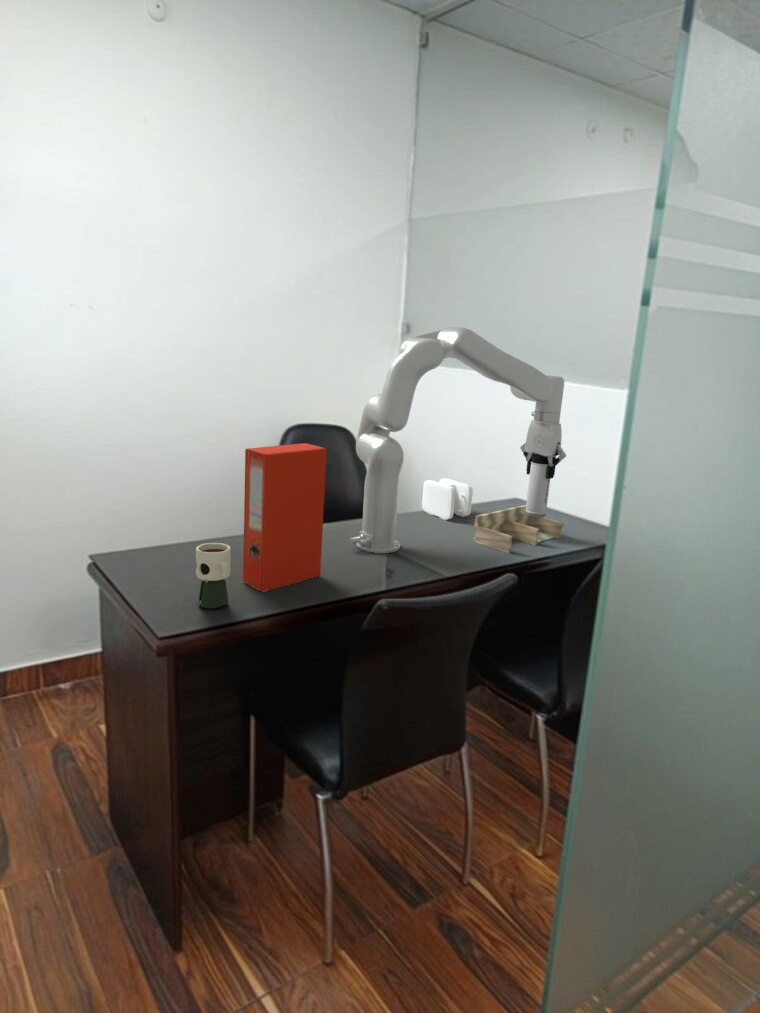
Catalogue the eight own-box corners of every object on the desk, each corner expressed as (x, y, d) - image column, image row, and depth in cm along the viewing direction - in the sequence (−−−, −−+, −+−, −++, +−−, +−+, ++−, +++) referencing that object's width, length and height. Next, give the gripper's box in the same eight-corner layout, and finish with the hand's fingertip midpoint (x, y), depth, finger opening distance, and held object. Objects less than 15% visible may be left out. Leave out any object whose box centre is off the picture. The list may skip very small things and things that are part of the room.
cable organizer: (419, 511, 231) (421, 478, 228) (441, 508, 237) (444, 476, 235) (449, 522, 220) (452, 488, 217) (471, 518, 226) (475, 485, 223)
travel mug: (521, 512, 211) (528, 449, 206) (541, 512, 211) (549, 450, 206) (527, 517, 205) (535, 453, 200) (548, 518, 205) (556, 454, 200)
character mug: (186, 600, 145) (185, 543, 142) (216, 593, 150) (216, 538, 147) (209, 617, 137) (209, 558, 134) (240, 610, 142) (241, 552, 139)
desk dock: (508, 553, 191) (511, 526, 189) (472, 541, 200) (475, 515, 198) (561, 537, 210) (564, 513, 208) (526, 527, 219) (529, 503, 217)
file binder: (321, 576, 164) (326, 448, 156) (263, 593, 152) (266, 454, 144) (300, 567, 169) (304, 442, 161) (243, 582, 157) (244, 448, 149)
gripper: (515, 414, 204) (509, 472, 208) (565, 422, 192) (557, 483, 196) (529, 413, 209) (523, 469, 213) (579, 420, 197) (571, 480, 201)
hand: (539, 475), depth 205 cm, fingers closed on travel mug, 6 cm apart
